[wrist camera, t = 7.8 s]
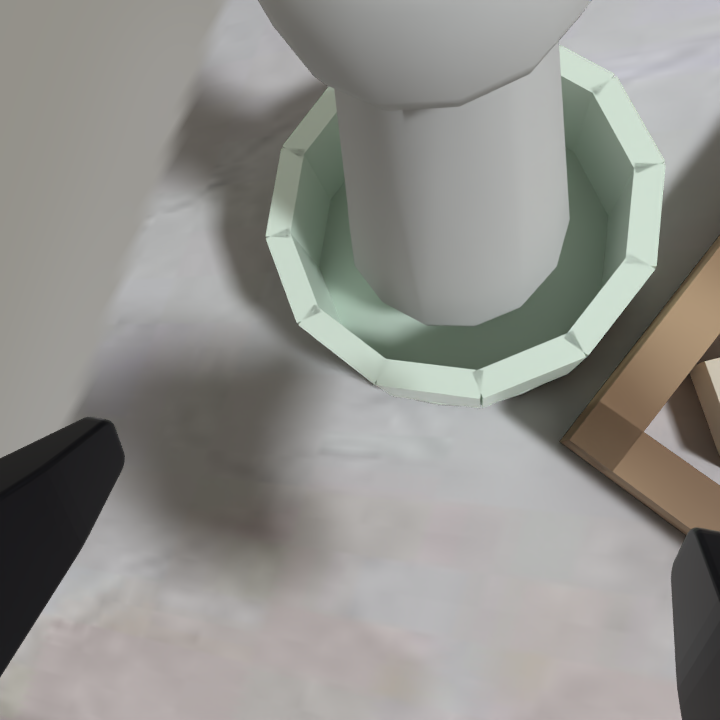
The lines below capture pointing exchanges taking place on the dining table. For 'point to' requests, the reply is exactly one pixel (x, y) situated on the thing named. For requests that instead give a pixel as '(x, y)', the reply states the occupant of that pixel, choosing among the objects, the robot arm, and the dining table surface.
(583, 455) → the tray
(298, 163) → the bowl
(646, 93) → the dining table surface
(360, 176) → the salt shaker
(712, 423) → the beige rectangular block
